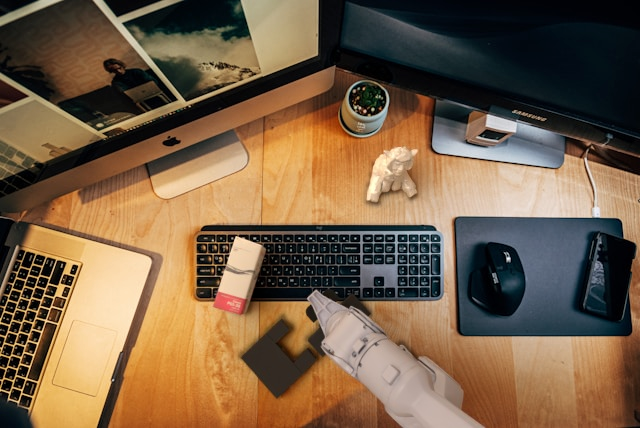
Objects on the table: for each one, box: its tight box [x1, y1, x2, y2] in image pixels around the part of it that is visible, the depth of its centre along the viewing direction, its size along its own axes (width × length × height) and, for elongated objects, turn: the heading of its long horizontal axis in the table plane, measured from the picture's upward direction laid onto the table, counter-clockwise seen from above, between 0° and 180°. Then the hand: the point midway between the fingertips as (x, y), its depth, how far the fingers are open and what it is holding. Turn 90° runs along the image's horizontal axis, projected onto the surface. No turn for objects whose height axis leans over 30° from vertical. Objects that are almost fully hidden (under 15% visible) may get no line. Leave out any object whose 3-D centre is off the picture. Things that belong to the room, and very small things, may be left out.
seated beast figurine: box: [365, 146, 419, 203], centre depth 76 cm, size 10×9×12 cm
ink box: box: [212, 236, 267, 316], centre depth 74 cm, size 9×5×12 cm
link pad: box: [307, 293, 372, 358], centre depth 76 cm, size 5×11×3 cm, turn 133°
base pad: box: [240, 318, 318, 400], centre depth 75 cm, size 9×9×3 cm
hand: (339, 324), depth 75 cm, fingers open, 7 cm apart
